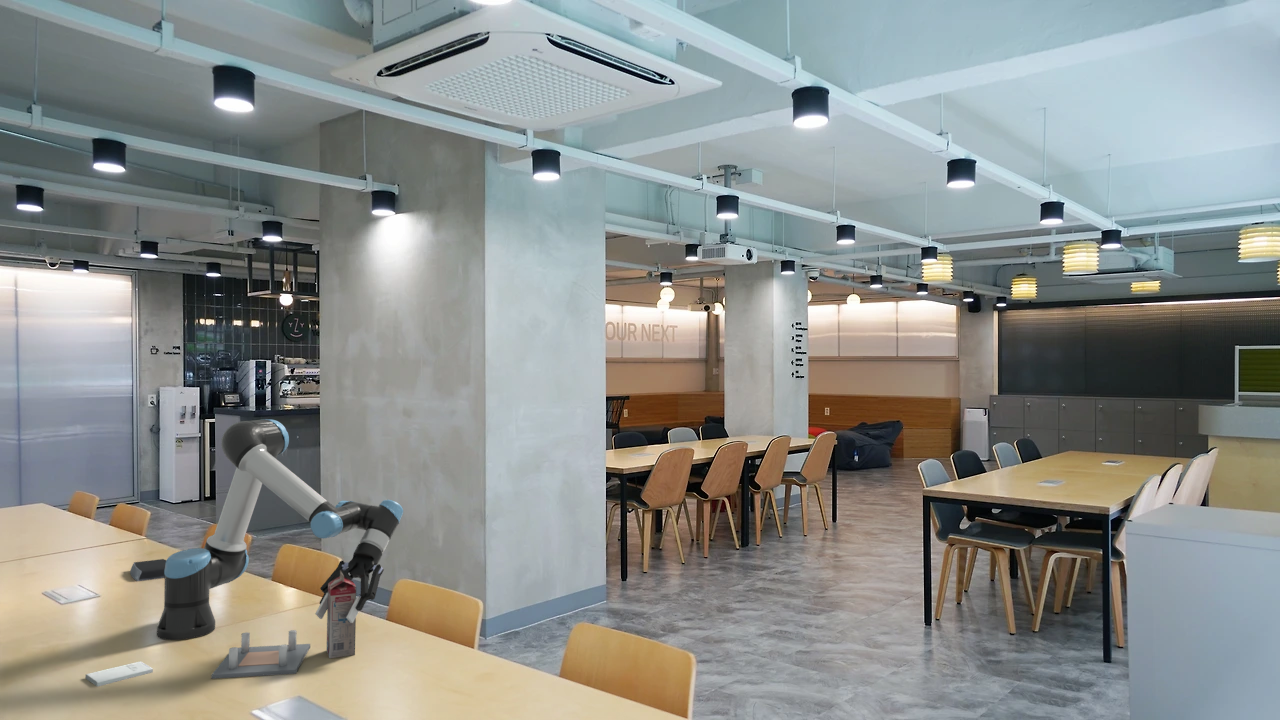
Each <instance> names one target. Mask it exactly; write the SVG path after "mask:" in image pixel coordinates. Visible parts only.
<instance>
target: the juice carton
mask: <svg viewBox="0 0 1280 720" xmlns="http://www.w3.org/2000/svg"><path fill="white" fill-rule="evenodd" d="M356 598H357V586H356V583H354V581H353V579H352V580H350V579H347V578H345V577H344V575H343V574H342V572H341V570H340V577H338V578H336V579H334V580H333V581H331V582H330V583H328V608H327V611H326V612H327V614H326V615H327V617H326V618H327V619H326V622H327V623H326V653H327V655H328V658H329V659H334V658H341V657H348V656H355V655H356V628H357V627H356V625H357V624H356V622H357V617H356V618H355V620H354V622H353V623H350V622H349V620H348V619H347V618H346V617H347V615H348V613H349V611H350V609H351V607H352V605H353V604H354V602H355V600H356Z"/></svg>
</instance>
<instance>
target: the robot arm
mask: <svg viewBox="0 0 1280 720" xmlns="http://www.w3.org/2000/svg"><path fill="white" fill-rule="evenodd" d="M289 443H290V437H289V432H288V431H287V428H286V427H285V426H284V425H283V423H281V422H280V421H278V420H275V419H268V418H262V419H257V420H246V421H245V420H243V421H238V422H236V423H235V422H234V423H233V424H231V425H230V426H228V428H226V430H225V431H224V433H222V438H221V443H220V444H221V450H222V452H223V454H224V455H225V457H226V458H227V460H228V461H229V462H230V463H231V464H232V465H233V466H235V467H236V468H235V471H234V473H233V478H232V479H231V483H230V486H229V489H228V492H227V495H226V497H225V498H226V499H225V501H224V504H223V507H222V510H221V513H220V516H219V520H218V522H217V524H216V528H215V531H214V534H213V535H210V536H208V538H207V539H206V542H205V545H204V547H202V548H201V547H197V548H188V549H183V550H180V551H177V552H175V553H172V554H171V555H170V556H168V557H167V558H166V559H165V560H166V565H165V570H164V574H165V578H164V595H163V596H164V600H163V601H164V602H163V603H164V605H163V611H162V612H161V616H160V619H159V621H158V623H157V626H156V637H157V638H159V639H161V640H165V641H167V640H168V641H174V640H175V641H179V640H187V639H194V638H199V637H202V636H205V635H208V634H210V633H212V632H213V631H215V630H216V619H215V616H214V614H213V611H212V607H211V605H210V590H211V589H213V588H217V587H220V586H222V585H225V584H229V583H231V582H233V581H235V580H236V579H239V578H240V577H241V576H242V575H243V574H244V573H245V572H246V570H247V568H248V566H249V561H250V560H249V558H250V557H249V555H248V550H247V547H248V546H247V543H246V542H245V536H246V533H247V531H248V528H249V524H250V521H251V519H252V515H253V513H254V509H255V507H256V504H257V500H258V498H259V495H260V492H261V489H262V485H264V486H265V487H266V488H267V489H269V491H271V492H273V494H275V495H276V496H277V497H279V498H280V499H281V500H282V501H283V502H284V503H286V504H287V505H288V506H290V507H291V509H293V510H294V511H296V512H297V513H298V514H299V515H301V516H302V517H303V518H304V519H305V520H307V521H308V522H309V523H310V530H311V531H312V534H313V535H314V536H315V537H317V538H319V539H328V538H333V537H337V536H338V535H340V534H343V533H346V532H349V531H352V530H355V529H356V530H363V531H365V532H364V533H363V535H362V537H361V539H360V541H359V543H358V544H357V546H356V548H355V550H354V551H353V554H352V555H353V556H352V558H351V560H350V561H348V562H347V561H346V562H344V560H340V561H339V563H338V565H337V567H336V569H334V571H333V572H332V573H331V574H330V576H329V577H328V578H327V579H326V580H325V582H324V583H323V584H322V585H321V587H320V588H319V589H320V591H321V592H322V593H323V596H322V598H321V599H320V601H319V606H318V608H317V610H316V612H315V613H314V614H315V615H316V616H317V618H318V619H320V620H322V619H323V618H324V616H325V615H326V612H327V608H328V583H330V582H331V581H333V580H334V579H336V578H338V577H340V570H341V572H342V574H343V575H344V577H345V578H347V579H350V580H352V581H353V579H355V578H359V579H360V593H359V594H358V595H356V600H355V602H354V604H353V605H352V607H351V609H350V611H349V613H348V615H347V617H346V618H347V619H348V620H349V622H350V623H353V622H354V620H355V618H356V619H357V616H358V614H359V612H361V611H362V610H363V608H364V606H365V605H366V602H367V601H369V600H372V601H373V600H375V599H376V596H377V595H376V594H377V591H378V586H379V583H380V579H381V576H382V575H383V572H384V570H385V569H384V568H383V567H382V565H381V564H379V562H380V561H381V558H382V556H383V553H384V552H385V551H386V548H387V546H388V545H389V542H390V540H391V539H392V537H393V535H394V533H395V531H396V529H397V527H398V525H399V524H400V523H401V519H402V517H403V515H404V508H403V506H402V505H401V504H400V503H398V501H394V500H392V499H384V500H382V501H381V502H380V503H379V505H371V504H366V503H361V502H356V501H353V500H340V501H339V502H337V504H336V505H335V506H334V505H333V504H332V503H330V502H329V501H328V500H327V499H325V498H324V497H323V496H322V495H320V494H319V493H318V491H315V489H313V487H311V486H310V485H308V484H307V483H306V482H305V481H303V479H301V478H300V477H299V476H298V475H296V474H295V473H294V472H292V471H291V470H290V469H289V468H288V467H287V466H286V465H285V464H283V463H282V462H281V461H280V460H278V459H277V458H278V456H280V455H282V454H283V453H284V452H286V450H287V448H288V446H289ZM370 573H372V574H371V579H370ZM369 581H370V582H369Z"/></svg>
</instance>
